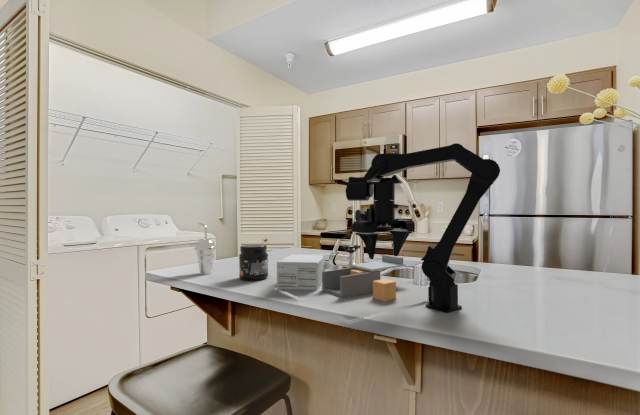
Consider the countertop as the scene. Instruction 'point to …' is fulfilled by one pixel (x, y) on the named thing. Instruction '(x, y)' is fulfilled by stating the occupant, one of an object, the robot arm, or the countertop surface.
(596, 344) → the countertop surface
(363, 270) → the block
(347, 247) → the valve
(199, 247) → the cup with straw
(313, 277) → the supplement box
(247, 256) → the supplement container
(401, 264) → the lid
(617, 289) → the countertop surface
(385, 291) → the block
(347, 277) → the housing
